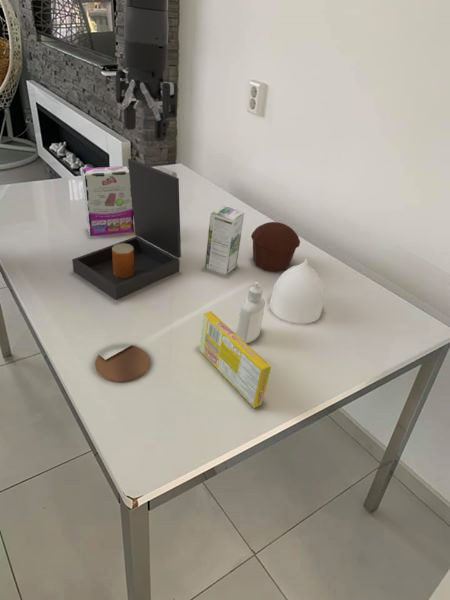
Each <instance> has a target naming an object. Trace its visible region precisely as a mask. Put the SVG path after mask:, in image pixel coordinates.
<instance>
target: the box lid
mask: <svg viewBox="0 0 450 600" xmlns="http://www.w3.org/2000/svg"><path fill="white" fill-rule="evenodd" d="M127 164H128V165H127V166H128V168H129V176H130V186H131V196H132V206H133V218H134V234H135V237H136V236H137V237H139V238H141V239H142V240H144V241H146V242H148V243H150V244H152V245H153V246H155V247H157V248H159V249H161V250H163V251H164V252H166V253H168V254H170V255H172V256H174V257H175V258H177V259H181V258H182V245H181V242H182V241H181V211H180V209H181V207H180V179H179V178H178V174H177V172H176V171H173V170H171V169H168V168H166V167H164V166H160V165H157V166H156V167H153V166H150V165H148V164H146V163H142V162H140V161H138V160H136V159H133V158H127Z"/></svg>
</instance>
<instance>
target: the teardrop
mask: <svg viewBox="0 0 450 600" xmlns="http://www.w3.org/2000/svg"><path fill="white" fill-rule="evenodd" d="M325 295H326V292H325V287H324V284H323V281H322V280H321V277H320V275H319V274H318V273H317V271H316V270H315V269H314V268H312V267H311V266H310V264H309V263H308V259H307V258H305V260H304V261H302V263H300V264H297V265H293V266H291V267H288V268H287V269H286V270H284V271H283V273H281V274H280V276H279V277H278V279H277V280H276V282H275V283H274V287H273V290H272V293H271V297H270V299H269V300H270V301H269V306H270V311H271V312H272V313H273V314H274V315H275V316H276V317H278V318H279V319H281V320H283V321H287V322H290V323H293V324H304V325H305V324H310V323H314V322H316V321H318V320H319V319H320V317H321V314H322V311H323V306H324V301H325Z"/></svg>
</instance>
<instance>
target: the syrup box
mask: <svg viewBox="0 0 450 600" xmlns="http://www.w3.org/2000/svg"><path fill="white" fill-rule="evenodd" d="M209 215H210V216H209V225H208V233H207V234H208V235H207V244H206V254H205V263H204V264H205V265H204V268H205V269H208V270H210V271H214V272H217V273H220V274H222V275H225V276H226V275H228V274H229V273H230V272H231V271H232V270H235V269H236V268H237V265H238V258H239V252H240V246H241V245H240V244H241V238H242V231H243V224H244V218H245V212H244V211H241V210H239V209H238V208H234V207H231V206H227V205H220V207H218V208H217V209H216V210H214V211H212V212H211V213H210V214H209Z"/></svg>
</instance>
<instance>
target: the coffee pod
mask: <svg viewBox="0 0 450 600" xmlns="http://www.w3.org/2000/svg"><path fill="white" fill-rule="evenodd" d="M115 244H116V243H115ZM113 245H114V244H113ZM112 261H113V274H114V275H115V276H116V277H118V278H129V277H131V276H133V275H134V247H133V246H132V245H130V244H126V243H121V244H116V245H114V246H113V247H112Z"/></svg>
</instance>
